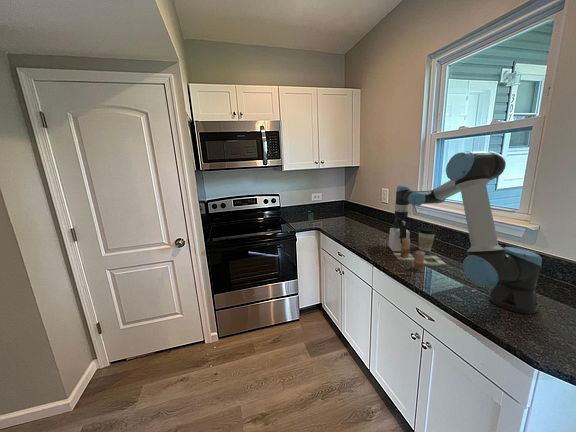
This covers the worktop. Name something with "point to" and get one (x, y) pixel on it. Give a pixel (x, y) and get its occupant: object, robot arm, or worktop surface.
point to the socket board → (437, 262)
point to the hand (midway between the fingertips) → (398, 245)
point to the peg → (419, 260)
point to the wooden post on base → (404, 250)
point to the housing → (395, 238)
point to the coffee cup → (426, 238)
